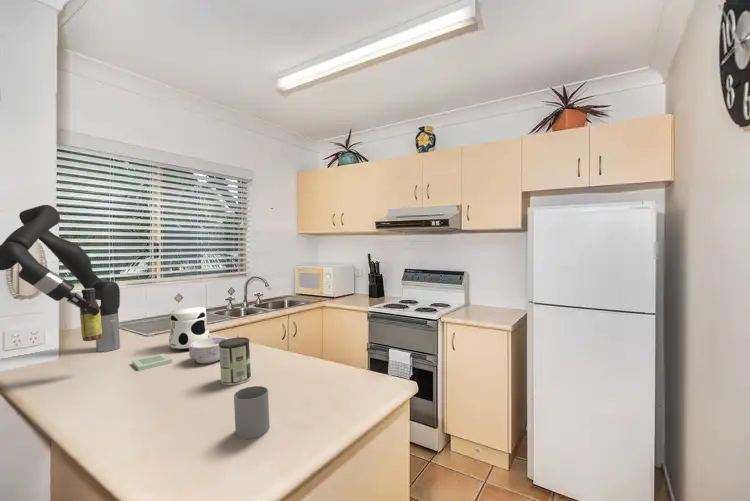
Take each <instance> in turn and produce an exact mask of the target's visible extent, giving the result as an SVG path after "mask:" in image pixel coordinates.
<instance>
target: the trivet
mask: <svg viewBox="0 0 750 501" xmlns="http://www.w3.org/2000/svg"><path fill="white" fill-rule="evenodd" d="M172 363H173V359H172V358H171V357H170V356H168V355H166V354H165V353H160V354H156V355H150V356H145V357H141V358H137V359H133V360H131V364H132V365H133V367H134V368H135V369H136V370H137V371H139V372H140V371H143V370H147V369H152V368H155V367H160V366H164V365H170V364H172Z"/></svg>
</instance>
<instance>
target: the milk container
mask: <svg viewBox="0 0 750 501" xmlns="http://www.w3.org/2000/svg"><path fill="white" fill-rule="evenodd" d="M169 319H170V320H169V322H170V332H169V335H168V336H169V338H168V342H169V346H170V347H171V349H173V350H179V351H184V350H188V351H189V345H190V344H191V343H193V342H195V341H198V340H201V339H206V338H210V330H209V328H208V320H207V310H206V307H203V306H198V307H197V306H196V307H195V306H194V307H184V308H178V309H174V310H171V311H170V313H169Z"/></svg>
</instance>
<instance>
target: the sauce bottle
mask: <svg viewBox="0 0 750 501" xmlns="http://www.w3.org/2000/svg"><path fill="white" fill-rule="evenodd" d="M81 295H82V298H84V299H85V300H86V302H87V303H89V304H91V306H93V307H94V308H96V309H97V310H99V311H100V308H99V307H100V305H99V304H98V300H96V299H95V289H94V288H91V289H85V288H84V289H81ZM84 305H86V303H84V304H83V305H82V307H83V306H84ZM79 313H80V314H79V318H80V330H81V338H82V341H84V342H92V341H96V340H97V339H100V338H102V325H101V314H100V312H99V313H98V314H97V315H93V314H91V313H90V312H88V311H86V310H83V309H82V308H81V307H80V308H79Z"/></svg>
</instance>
